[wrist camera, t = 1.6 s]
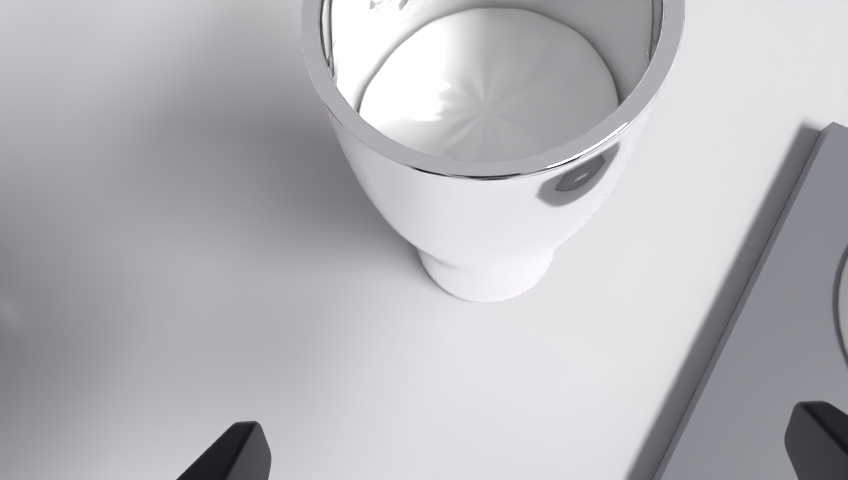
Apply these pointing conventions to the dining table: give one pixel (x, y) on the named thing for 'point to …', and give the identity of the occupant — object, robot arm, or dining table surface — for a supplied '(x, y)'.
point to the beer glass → (489, 119)
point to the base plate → (777, 337)
